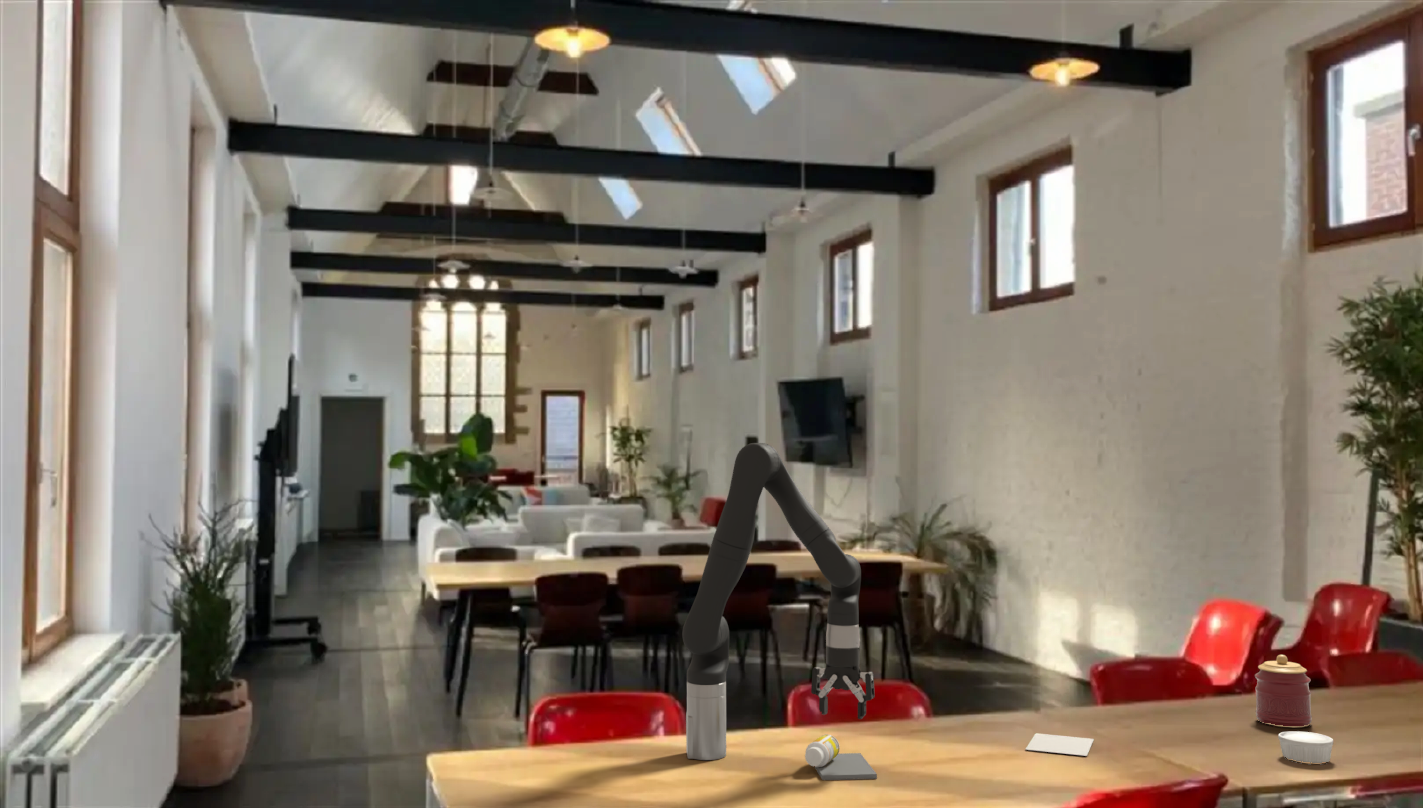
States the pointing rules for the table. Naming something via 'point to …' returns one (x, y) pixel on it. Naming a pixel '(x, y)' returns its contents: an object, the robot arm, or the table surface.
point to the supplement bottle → (822, 750)
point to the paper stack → (1060, 744)
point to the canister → (1283, 693)
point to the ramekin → (1306, 746)
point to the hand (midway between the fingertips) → (842, 716)
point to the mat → (847, 768)
